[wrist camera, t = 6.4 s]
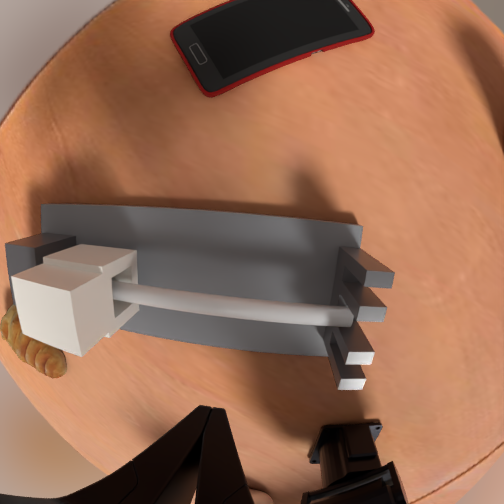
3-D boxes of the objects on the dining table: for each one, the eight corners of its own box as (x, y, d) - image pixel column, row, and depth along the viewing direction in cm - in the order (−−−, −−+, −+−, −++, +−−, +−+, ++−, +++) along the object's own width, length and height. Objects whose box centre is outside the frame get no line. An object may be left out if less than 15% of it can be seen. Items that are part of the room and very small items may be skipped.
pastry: (76, 349, 24) (56, 368, 20) (65, 382, 25) (48, 399, 21) (20, 293, 23) (-2, 304, 19) (14, 330, 24) (-5, 343, 21)
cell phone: (169, 35, 17) (165, 30, 16) (325, -21, 15) (327, -27, 14) (207, 103, 18) (204, 99, 17) (376, 38, 16) (379, 33, 15)
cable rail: (358, 224, 19) (400, 241, 12) (335, 350, 21) (355, 407, 14) (48, 203, 20) (-9, 211, 13) (56, 306, 22) (9, 335, 16)
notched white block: (137, 250, 18) (69, 283, 11) (139, 310, 19) (83, 363, 12) (81, 243, 18) (10, 269, 11) (85, 299, 19) (24, 339, 12)
